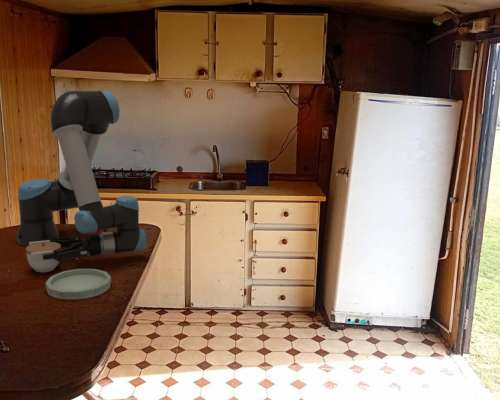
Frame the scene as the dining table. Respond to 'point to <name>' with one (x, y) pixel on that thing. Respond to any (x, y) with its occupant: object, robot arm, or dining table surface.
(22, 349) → the dining table surface
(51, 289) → the rimmed tray
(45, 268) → the lidded jar
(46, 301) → the dining table surface
